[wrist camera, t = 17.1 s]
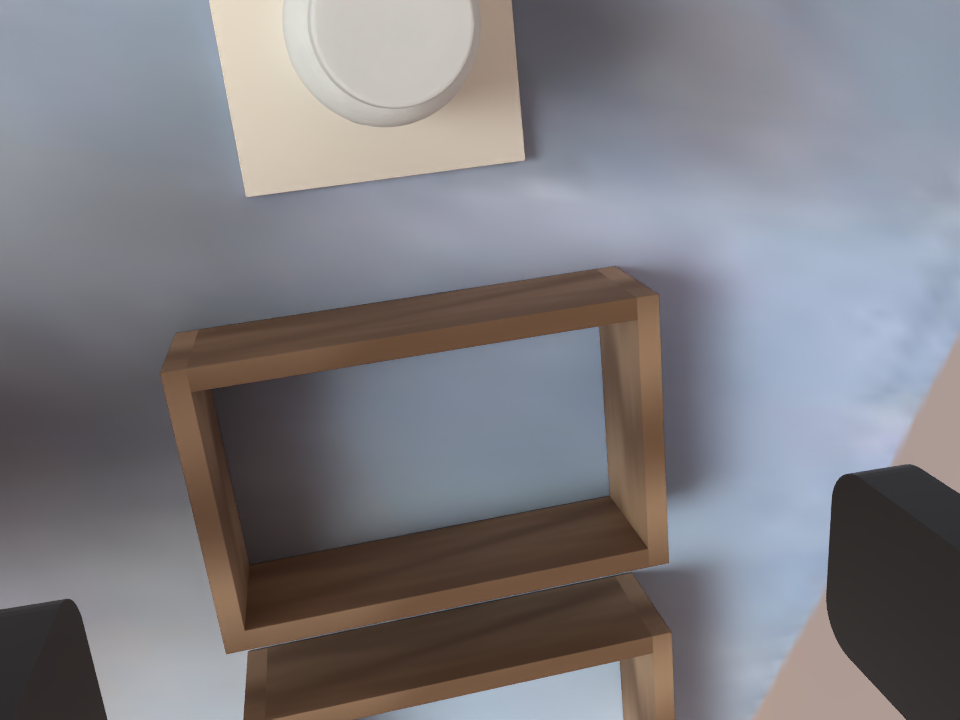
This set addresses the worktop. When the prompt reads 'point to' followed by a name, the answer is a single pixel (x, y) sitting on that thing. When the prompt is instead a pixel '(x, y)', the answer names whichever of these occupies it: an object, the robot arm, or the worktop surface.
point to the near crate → (446, 551)
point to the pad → (344, 144)
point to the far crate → (471, 655)
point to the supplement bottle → (382, 55)
